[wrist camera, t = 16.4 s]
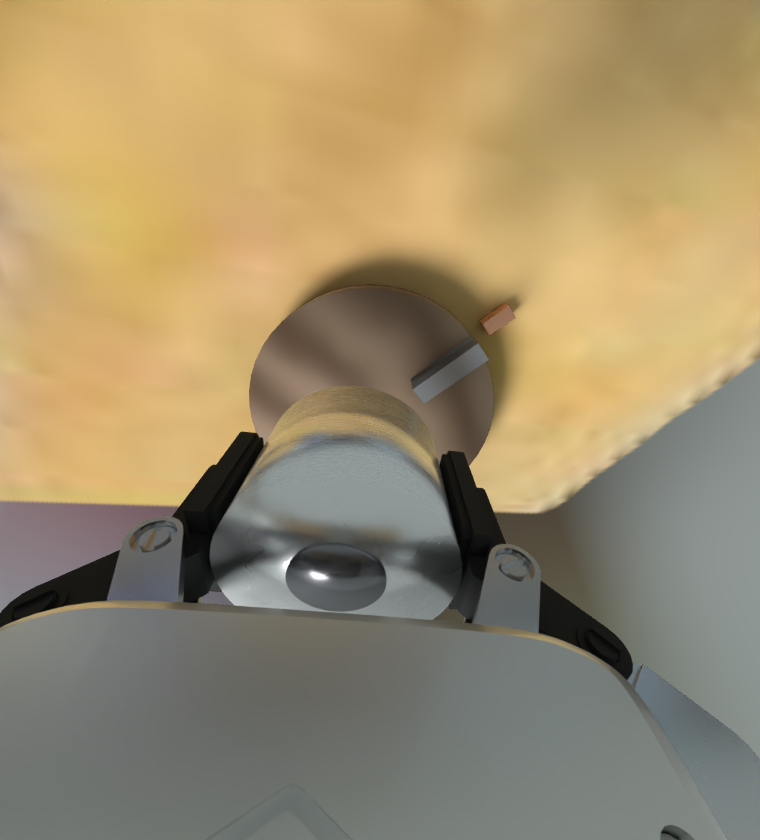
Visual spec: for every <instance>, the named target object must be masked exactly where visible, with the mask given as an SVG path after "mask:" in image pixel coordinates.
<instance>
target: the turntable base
mask: <svg viewBox="0 0 760 840" xmlns="http://www.w3.org/2000/svg"><path fill="white" fill-rule="evenodd" d="M515 318H516V317H515V316H514V314H513V312H512V310H511V309H510V307H509V306H508V305H507V304H505V303H504V304H502V305H501V306H500V307H498V308H497V309H495V310H494V311H493V312H491V313H490V314H488V315H487V316H485V317H484V318H483V319H481V320H480V323H481V324H482V326H483V328H484V329H485V331H486V332H487V333H488V334H489V335H491V334H493V333H494V332H495V331H497V330H498V329H500V328H501V327H503V326H504V325H506V324H507V323H509V322H510V321H512V320H513V319H515Z"/></svg>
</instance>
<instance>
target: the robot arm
mask: <svg viewBox="0 0 760 840" xmlns="http://www.w3.org/2000/svg"><path fill="white" fill-rule="evenodd" d="M263 447H264V440H263V438H262V437H259V435H258V434H257V433H251V432H240V433H239V435H238V436H237V437H236V439H235V440H234V441H233V443H232V444H231V446H230V447H229V448H228V450H227V451H226V452H225V454H224V455H223V456H222V458H221V459H220V461H219V462H218V463H217V465H212V466H210V467H209V468H208V470H207V471H206V472H205V474H204V475H203V476H202V478H201V479H200V480H199V482H198V483H197V484H196V486H195V487H194V488H193V489H192V491H191V492H190V493H189V495H188V496H187V497H186V499H185V500H184V501H183V503H182V504H181V505H180V507H179V508H178V509H177V511H176V512H175V513H174V515H173V516H172V517H167V516H163V517H156V518H152V519H149V520H147V521H144V522H142V523H140V524H138V525H137V526H136V527H134V528H133V529H131V530H130V531H129V533H128V534H127V535H126V536H125V538H124V540H123V542H122V545H121V549H120V550H119V551H116V552H114V553H112V554H110V555H108V556H105V557H103V558H100V559H98V560H96V561H94V562H91V563H89V564H87V565H84V566H82V567H80V568H78V569H75V570H73V571H71V572H68V573H66V574H64V575H61V576H60V577H57V578H55V579H52V580H50V581H48V582H46V583H43V584H41V585H39V586H36V587H35V588H32V589H31V590H29V591H27V592H25V593H23V594H21V595H20V596H19V597H17V598H16V599H14V600H13V601H12V602H10V603H9V604H8V605H7V606H6V607H5V608H4V609H3V610H2V612H1V613H0V840H760V759H759V757H758V756H757V755H756V754H755V752H754V751H753V750H752V749H751V748H750V747H749V745H748V744H747V743H746V742H745V741H744V740H742V739H741V738H740V737H739V736H738V735H737V734H736V733H735V732H733V731H732V730H731V729H729V728H728V727H727V726H725V725H724V724H723V723H721V722H720V721H719V720H718V719H716V718H715V717H714V716H712V715H711V714H709V713H708V712H707V711H705V710H704V709H703V708H702V707H700V706H699V705H698V704H696V703H695V702H694V701H692V700H691V699H690V698H688V697H687V696H686V695H684V694H683V693H682V692H680V691H679V690H678V689H676V688H675V687H674V686H672V685H671V684H670V683H668V682H667V681H666V680H665V679H663V678H662V677H661V676H659V675H658V674H657V673H655V672H654V671H652V670H651V669H650V668H648V667H647V666H646V665H644V664H642V666H638V665H637V664H636V663H634V662H633V661H632V659H631V656H630V654H629V652H628V650H627V648H626V647H625V645H624V644H623V643H622V642H621V640H620V639H619V638H618V637H617V636H616V635H615V634H614V633H613V632H611V631H610V630H609V629H608V628H606V627H605V626H604V625H602V624H601V623H599V622H598V621H597V620H595V619H593V618H592V617H591V616H589V615H588V614H587V613H585V612H584V611H582V610H581V609H580V608H578V607H577V606H576V605H574V604H573V603H571V602H570V601H569V600H567V599H566V598H564V597H563V596H561V595H560V594H559V593H557V592H556V591H554V590H553V589H551V588H550V587H549V586H547V585H546V584H545V583H543V582H542V581H541V573H540V568H539V566H538V564H537V562H536V561H535V560H534V558H533V557H532V556H531V555H530V554H528V553H527V552H526V551H525V550H523V549H521V548H519V547H517V546H513V545H510V544H506V543H505V540H504V538H503V535H502V532H501V530H500V527H499V525H498V522H497V520H496V517H495V515H494V512H493V509H492V507H491V504H490V502H489V499H488V496H487V494H486V492H485V490H484V489H483V488H477V487H476V484H475V482H474V479H473V476H472V473H471V470H470V468H469V465H468V462H467V459H466V457H465V454H464V452H459V451H448V452H447V454H442V456H441V460H440V465H439V466H440V470H441V474H442V478H443V483H444V487H445V491H446V495H447V499H448V504H449V508H450V512H451V516H452V521H453V525H454V529H455V533H456V538H457V542H458V546H459V550H460V555H461V561H462V577H461V581H460V585H459V588H458V590H457V592H456V594H455V596H454V598H453V599H452V601H451V602H450V604H449V609H458V611H459V612H460V613H461V614H462V615H463V616H464V617H465V619H464V623H462V622H451V621H439V620H426V619H413V618H400V617H388V616H375V615H361V614H347V613H334V612H320V611H306V610H292V609H278V608H263V607H248V606H232V605H218V604H203V603H202V596H204V595H205V594H207V593H208V592H209V591H215V592H221V591H222V590H221V589H220V587H219V585H218V583H217V582H216V580H215V578H214V575H213V572H212V569H211V564H210V545H211V541H212V538H213V535H214V533H215V531H216V529H217V527H218V525H219V523H220V522H221V520H222V518H223V516H224V515H225V513H226V511H227V509H228V508H229V506H230V504H231V502H232V501H233V499H234V497H235V495H236V494H237V492H238V490H239V489H240V487H241V485H242V483H243V482H244V480H245V478H246V476H247V475H248V473H249V471H250V469H251V468H252V466H253V464H254V462H255V461H256V459H257V457H258V456H259V454H260V452H261V450H262V449H263Z"/></svg>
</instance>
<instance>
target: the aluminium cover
mask: <svg viewBox="0 0 760 840" xmlns="http://www.w3.org/2000/svg"><path fill="white" fill-rule="evenodd" d="M210 564H211V569H212V572H213V575H214V578H215V580H216V582H217V583H218V585H219V587H220V589H221V590H222V591H223V593H224V594H225V595H226V597H227V598H228V599H229V600H230V601H231V602H232V603H233V604H234V605H235V606H248V607H263V608H278V609H292V610H306V611H320V612H334V613H347V614H361V615H375V616H388V617H400V618H413V619H426V620H433V619H434V618H435V617H437V616H438V615H439V614H440V613H441V612H442V611H443V610H444V609H445V608H446V607H447V606H448V605H449V604H450V602H451V601H452V599H453V598H454V596H455V594H456V592H457V590H458V588H459V585H460V581H461V577H462V561H461V555H460V550H459V546H458V542H457V538H456V533H455V529H454V525H453V521H452V516H451V512H450V508H449V504H448V499H447V495H446V491H445V487H444V483H443V478H442V474H441V470H440V466H439V461H438V457H437V453H436V449H435V444H434V441H433V438H432V435H431V433H430V431H429V429H428V427H427V425H426V424H425V423H424V421H423V420H422V419H421V417H420V416H419V415H418V414H417V413H416V412H415V411H414V410H413V409H412V408H410V407H409V406H408V405H407V404H405V403H404V402H402V401H401V400H399V399H397V398H395V397H394V396H391V395H389V394H387V393H384V392H381V391H378V390H374V389H371V388H365V387H358V386H341V387H332V388H328V389H323V390H320V391H317V392H314V393H311V394H310V395H308V396H306V397H304V398H302V399H300V400H299V401H297V402H296V403H294V404H293V405H292V406H291V407H290V408H289V409H288V410H287V411H286V412H285V413H284V414H283V415H282V417H281V418H280V419H279V421H278V423H277V424H276V426H275V428H274V430H273V431H272V433H271V435H270V436H269V438H268V440H267V442H266V443H265V445H264V447H263V449H262V450H261V452H260V454H259V456H258V457H257V459H256V461H255V462H254V464H253V466H252V468H251V469H250V471H249V473H248V475H247V476H246V478H245V480H244V482H243V483H242V485H241V487H240V489H239V490H238V492H237V494H236V495H235V497H234V499H233V501H232V502H231V504H230V506H229V508H228V509H227V511H226V513H225V515H224V516H223V518H222V520H221V522H220V523H219V525H218V527H217V529H216V531H215V533H214V535H213V538H212V541H211V545H210Z"/></svg>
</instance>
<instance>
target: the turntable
mask: <svg viewBox="0 0 760 840" xmlns="http://www.w3.org/2000/svg"><path fill="white" fill-rule="evenodd" d="M488 360H489V359H488V357H487V356H486V354H485V353H484V351H483V350H482V348H481V347H480V345H479V344H478V342H477V341H476V340H475V339H474V338H473V337H472V335H470V334H469V333H468V332H467V330H466V329H465V328H464V327H463V326H462V324H461V323H460V322H459V321H458V320H457V319H456V318H454V317H453V316H452V315H451V314H450V313H449V312H448V311H446V310H445V309H444V308H442V307H441V306H439V305H438V304H437V303H435V302H433V301H431V300H429V299H427V298H425V297H423V296H421V295H419V294H416V293H413V292H411V291H408V290H405V289H401V288H396V287H390V286H384V285H359V286H349V287H345V288H341V289H337V290H333V291H330V292H328V293H325V294H323V295H320V296H318V297H316V298H314V299H312V300H311V301H309V302H307V303H305V304H304V305H302V306H301V307H300V308H298V309H297V310H296V311H294V312H293V313H292V314H291V315H289V316H288V317H287V318H286V319H285V320H283V321H282V322H281V324H280V325H279V326H278V327H277V328H276V329H275V330H274V331H273V332H272V333H271V335H270V336H269V338H268V339H267V340H266V342H265V343H264V345H263V346H262V348H261V350H260V353H259V355H258V357H257V359H256V361H255V364H254V368H253V371H252V375H251V381H250V389H249V401H250V410H251V416H252V421H253V424H254V427H255V430H256V433H257V434H258V435H259V437H262V438H263V440H264V445H265V443H266V442H267V440H268V438H269V436H270V435H271V433H272V431H273V430H274V428H275V426H276V424H277V423H278V421H279V419H280V418H281V417H282V415H283V414H284V413H285V412H286V411H287V410H288V409H289V408H290V407H291V406H292V405H293V404H294V403H296V402H297V401H299V400H300V399H302V398H304V397H306V396H308V395H310V394H311V393H314V392H317V391H320V390H323V389H328V388H332V387H341V386H358V387H365V388H371V389H374V390H378V391H381V392H384V393H387V394H389V395H391V396H394V397H395V398H397V399H399V400H401V401H402V402H404V403H405V404H407V405H408V406H409V407H410V408H412V409H413V410H414V411H415V412H416V413H417V414H418V415H419V416H420V417H421V419H422V420H423V421H424V423H425V424H426V425H427V427H428V429H429V431H430V433H431V435H432V438H433V441H434V444H435V449H436V453H437V457H438V461H439V465H440V460H441V456H442V454H447V452H448V451H459V452H464V454H465V457H466V459H467V462H468V465H470V464H471V463H472V461H473V460H474V459H475V457H476V456H477V455H478V453H479V451H480V450H481V448H482V446H483V444H484V442H485V440H486V438H487V435H488V432H489V430H490V426H491V422H492V418H493V410H494V389H493V383H492V378H491V373H490V370H489V367H488V365H487V362H486V361H488Z"/></svg>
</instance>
